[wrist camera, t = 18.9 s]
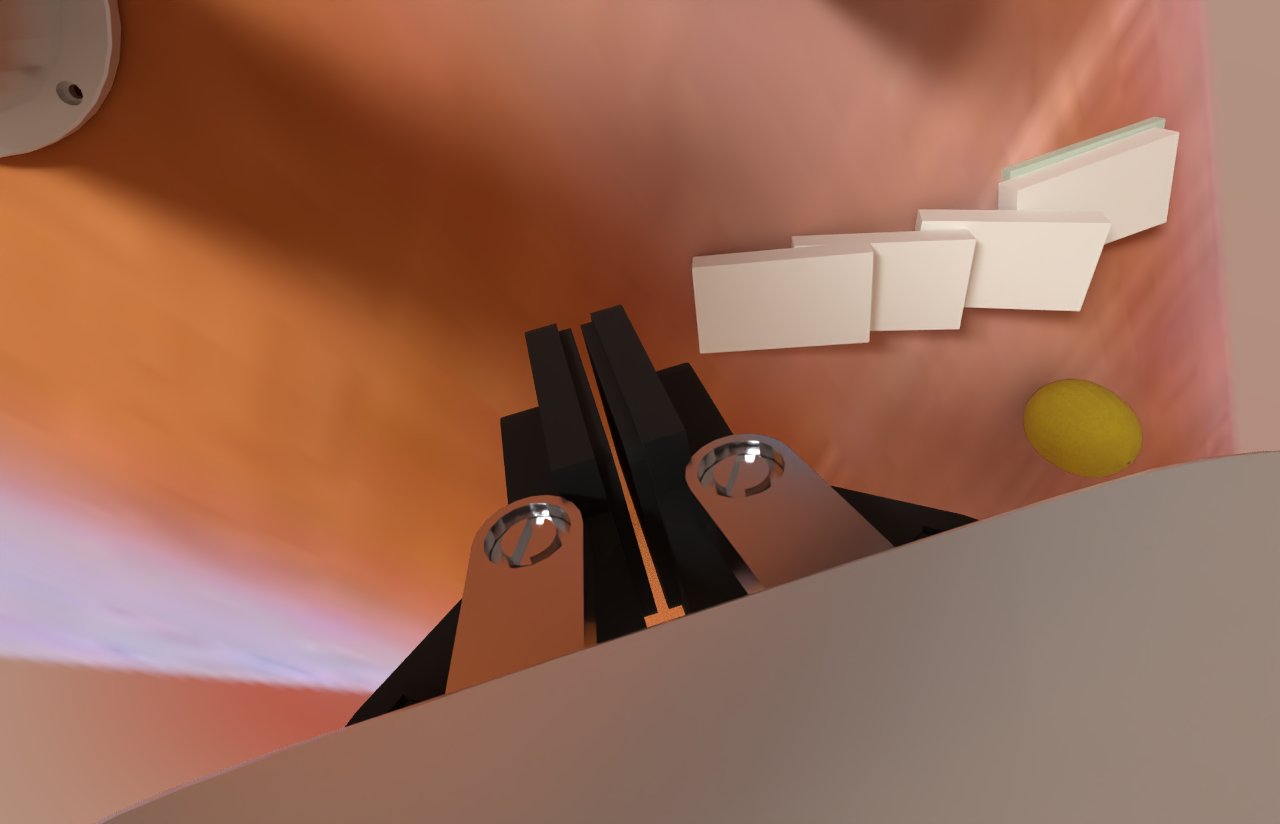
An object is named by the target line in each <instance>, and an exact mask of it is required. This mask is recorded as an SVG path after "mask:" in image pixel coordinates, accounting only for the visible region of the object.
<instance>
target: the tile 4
mask: <svg viewBox="0 0 1280 824" xmlns="http://www.w3.org/2000/svg"><path fill="white" fill-rule="evenodd" d="M1178 138H1179V132H1175V131H1171V130H1166V129H1161V128H1157V127H1153V128H1151V129H1148V130H1145V131H1142V132H1139V133H1137V134H1134V135H1131V136H1128V137H1126V138H1123V139H1120V140H1117V141H1114V142H1112V143H1109V144H1106V145H1103V146H1101V147H1098V148H1095V149H1092V150H1089V151H1087V152H1084V153H1081V154H1078V155H1076V156H1073V157H1070V158H1067V159H1064V160H1062V161H1059V162H1056V163H1053V164H1051V165H1048V166H1045V167H1042V168H1039V169H1037V170H1034V171H1031V172H1028V173H1026V174H1023V175H1020V176H1017V177H1014V178H1012V179H1009V180H1006V181H1003V182H1001V183H999V196H998V210H1038V211H1102V212H1103V214H1104V215H1105V216H1106V217H1107V218H1108V219H1109V220H1110V222H1111V223H1112V224H1111V227H1110V230H1109V232H1108V235H1107V238H1106V241H1105V243H1104V244H1107V243H1110V242H1112V241H1115V240H1118V239H1121V238H1123V237H1126V236H1129V235H1132V234H1135V233H1137V232H1140V231H1143V230H1146V229H1148V228H1151V227H1154V226H1157V225H1160V224H1162V223H1165V222H1166V221H1167V214H1168V207H1169V200H1170V193H1171V186H1172V179H1173V173H1174V166H1175V159H1176V152H1177V145H1178Z"/></svg>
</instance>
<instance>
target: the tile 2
mask: <svg viewBox="0 0 1280 824" xmlns="http://www.w3.org/2000/svg"><path fill="white" fill-rule="evenodd" d="M864 241H868V242H869V244H870V246H871V248H872V250H873V252H874V256H873V276H872V296H871V316H870V331H895V330H940V329H960V324H961V318H962V313H963V308H964V302H965V297H966V292H967V286H968V281H969V276H970V270H971V265H972V260H973V254H974V249H975V244H976V238H975V237H974V236H973V235H972V234H971V233H970V232H969V231H968V229H957V230H932V231H907V232H882V233H857V234H831V235H806V236H792V243H791V248H797V247H808V246H819V245H831V244H842V243H853V242H864Z"/></svg>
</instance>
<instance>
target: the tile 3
mask: <svg viewBox="0 0 1280 824" xmlns="http://www.w3.org/2000/svg"><path fill="white" fill-rule="evenodd" d="M1111 224H1112V223H1111V222H1110V220H1109V219H1108V218H1107V217H1106V216H1105V215H1104V214H1103V212H1102V211H1038V210H926V209H918V215H917V220H916V226H915V231H932V230H957V229H968V231H969V232H970V233H971V234H972V235H973V236H974V237H975V238H976V244H975V249H974V254H973V260H972V265H971V270H970V276H969V281H968V286H967V292H966V297H965V302H964V307H972V308H1001V309H1031V310H1061V311H1080V310H1081V307H1082V304H1083V301H1084V299H1085V296H1086V293H1087V290H1088V288H1089V285H1090V282H1091V279H1092V276H1093V274H1094V271H1095V268H1096V265H1097V263H1098V260H1099V257H1100V254H1101V252H1102V249H1103V246H1104V243H1105V241H1106V238H1107V235H1108V232H1109V230H1110V227H1111Z"/></svg>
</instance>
